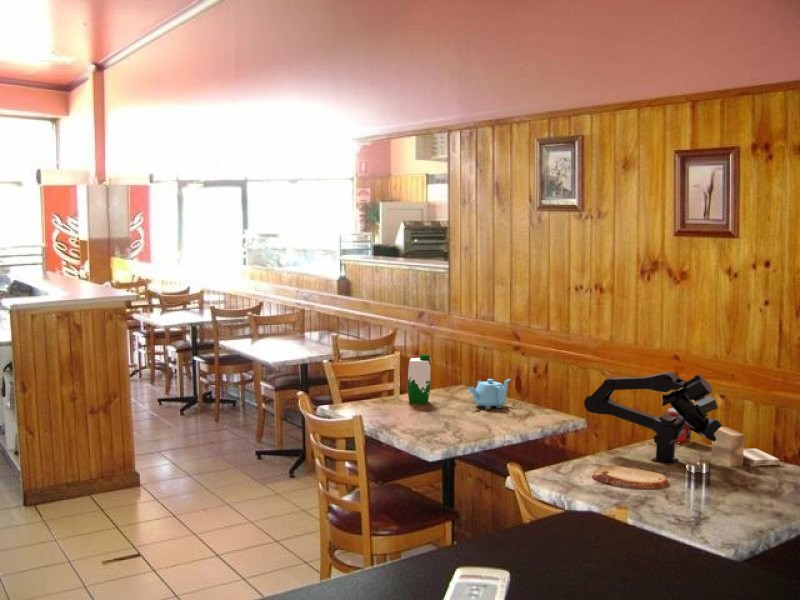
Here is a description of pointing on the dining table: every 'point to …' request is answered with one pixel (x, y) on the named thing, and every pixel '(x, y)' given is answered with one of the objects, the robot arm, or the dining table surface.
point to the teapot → (490, 393)
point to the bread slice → (629, 477)
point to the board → (758, 457)
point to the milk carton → (419, 379)
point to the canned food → (687, 432)
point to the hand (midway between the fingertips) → (714, 440)
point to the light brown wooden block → (728, 446)
